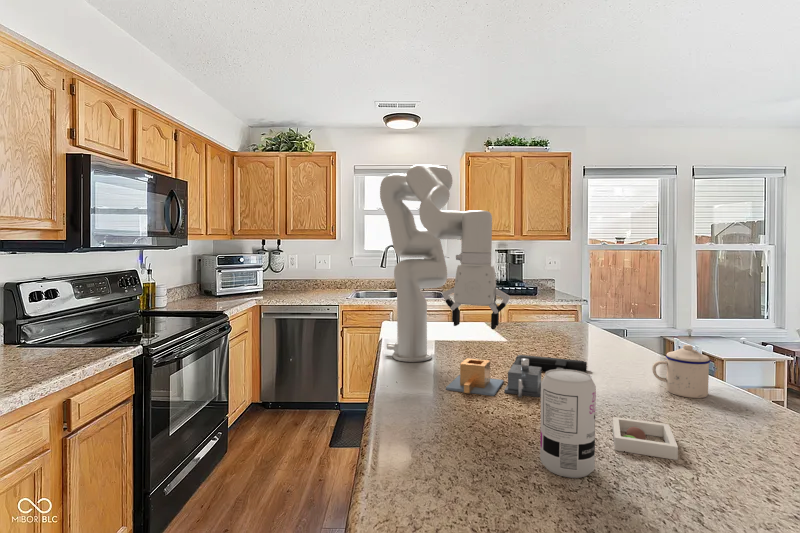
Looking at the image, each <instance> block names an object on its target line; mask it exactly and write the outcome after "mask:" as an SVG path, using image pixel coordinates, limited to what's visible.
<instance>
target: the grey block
mask: <svg viewBox="0 0 800 533" xmlns="http://www.w3.org/2000/svg"><path fill="white" fill-rule="evenodd" d="M512 365H513V366H512ZM512 365H511V366H512V367H511V366H510V368H509V370H508V371H507V385H506V386H505V388H504V391H503V392H504V394H512V395H517V396H518V398H523V396H527V397H533V398H541V382H542V372H543V371H542V367H535V366H529V359H526V358H523V359H521V365H515V364H513V363H512Z"/></svg>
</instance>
